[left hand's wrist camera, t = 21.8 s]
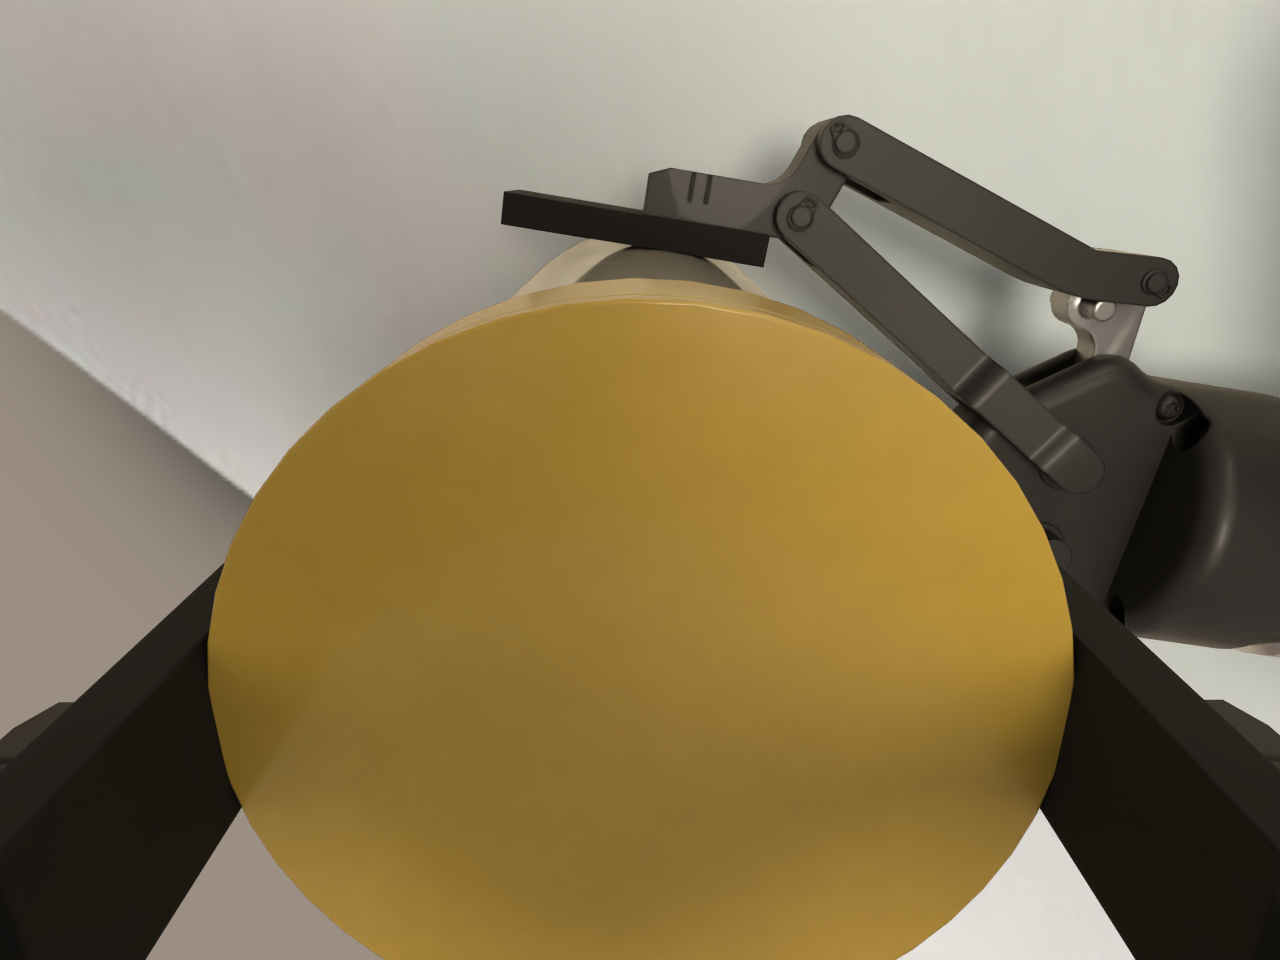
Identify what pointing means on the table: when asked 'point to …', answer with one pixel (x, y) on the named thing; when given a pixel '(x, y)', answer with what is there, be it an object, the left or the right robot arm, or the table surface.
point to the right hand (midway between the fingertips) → (490, 409)
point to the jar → (634, 268)
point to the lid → (640, 642)
